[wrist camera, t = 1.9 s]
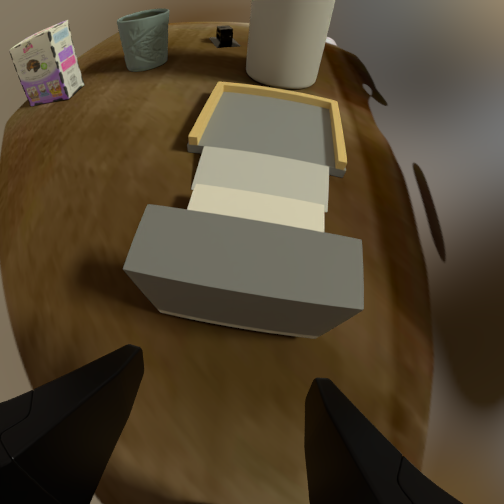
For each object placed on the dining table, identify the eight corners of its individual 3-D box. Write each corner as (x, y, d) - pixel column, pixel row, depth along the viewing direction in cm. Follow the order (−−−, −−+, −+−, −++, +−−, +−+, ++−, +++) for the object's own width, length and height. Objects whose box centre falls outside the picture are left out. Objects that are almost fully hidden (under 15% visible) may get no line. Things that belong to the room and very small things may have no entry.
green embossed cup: (128, 60, 43) (122, 15, 33) (173, 51, 45) (170, 5, 34) (121, 77, 39) (111, 25, 28) (172, 67, 41) (168, 13, 30)
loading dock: (342, 219, 28) (353, 201, 25) (174, 191, 27) (169, 171, 25) (333, 117, 37) (338, 101, 34) (216, 98, 37) (216, 81, 34)
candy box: (85, 84, 39) (69, 18, 24) (68, 100, 36) (47, 30, 21) (45, 92, 39) (27, 36, 24) (29, 107, 36) (7, 49, 21)
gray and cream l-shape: (310, 341, 21) (363, 309, 12) (163, 316, 21) (122, 269, 12) (317, 218, 26) (350, 147, 18) (197, 198, 26) (189, 120, 18)
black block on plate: (204, 38, 51) (204, 23, 47) (232, 36, 53) (233, 21, 49) (214, 52, 46) (215, 34, 42) (247, 49, 48) (248, 32, 44)
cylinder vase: (322, 95, 38) (356, -36, 16) (247, 88, 37) (261, -55, 15) (306, 66, 44) (329, -39, 22) (244, 61, 43) (254, -50, 21)
